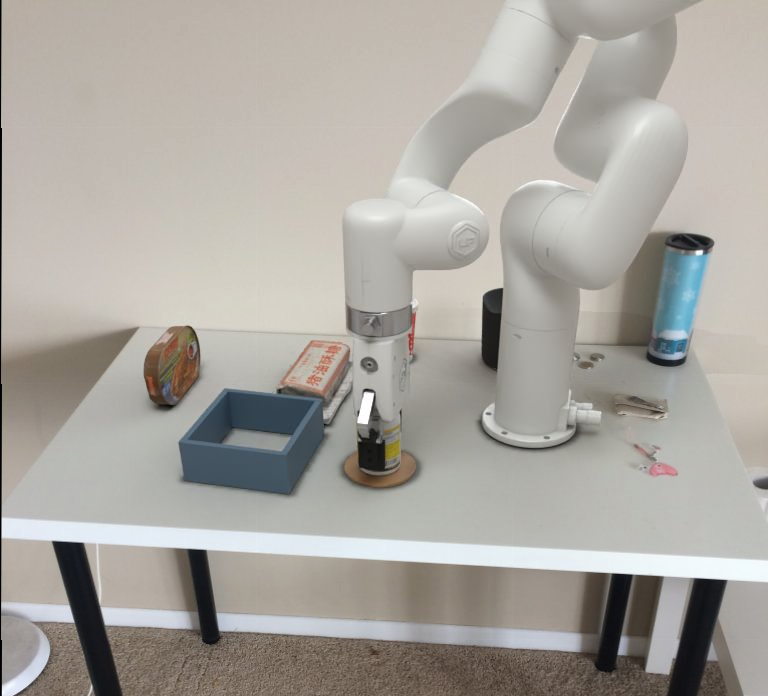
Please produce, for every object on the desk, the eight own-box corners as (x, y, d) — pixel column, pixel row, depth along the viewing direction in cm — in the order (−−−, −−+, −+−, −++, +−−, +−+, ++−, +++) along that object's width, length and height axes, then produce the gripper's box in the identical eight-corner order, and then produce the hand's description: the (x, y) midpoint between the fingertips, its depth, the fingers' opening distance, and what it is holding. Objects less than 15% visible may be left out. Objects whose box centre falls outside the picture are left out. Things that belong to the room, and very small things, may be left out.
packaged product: (298, 334, 131) (362, 340, 129) (300, 363, 134) (362, 370, 132) (257, 387, 117) (328, 394, 115) (260, 418, 120) (330, 426, 118)
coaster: (422, 454, 112) (422, 451, 112) (407, 491, 105) (407, 489, 104) (355, 446, 114) (354, 443, 113) (335, 482, 106) (335, 479, 106)
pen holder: (535, 347, 138) (541, 286, 133) (544, 373, 131) (551, 310, 125) (476, 348, 139) (479, 287, 133) (481, 374, 131) (485, 310, 125)
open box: (324, 435, 116) (322, 398, 113) (289, 494, 104) (286, 455, 101) (229, 424, 119) (224, 387, 115) (184, 480, 107) (177, 441, 104)
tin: (167, 415, 121) (158, 360, 116) (146, 414, 121) (136, 358, 116) (205, 369, 133) (197, 316, 128) (185, 367, 133) (177, 315, 128)
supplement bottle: (361, 452, 111) (360, 383, 106) (403, 456, 111) (404, 386, 105) (353, 475, 107) (351, 404, 101) (397, 478, 106) (397, 407, 101)
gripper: (394, 351, 90) (394, 491, 100) (426, 291, 104) (424, 420, 114) (324, 344, 91) (331, 484, 102) (366, 286, 105) (368, 414, 115)
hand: (380, 449), depth 108 cm, fingers open, 8 cm apart
